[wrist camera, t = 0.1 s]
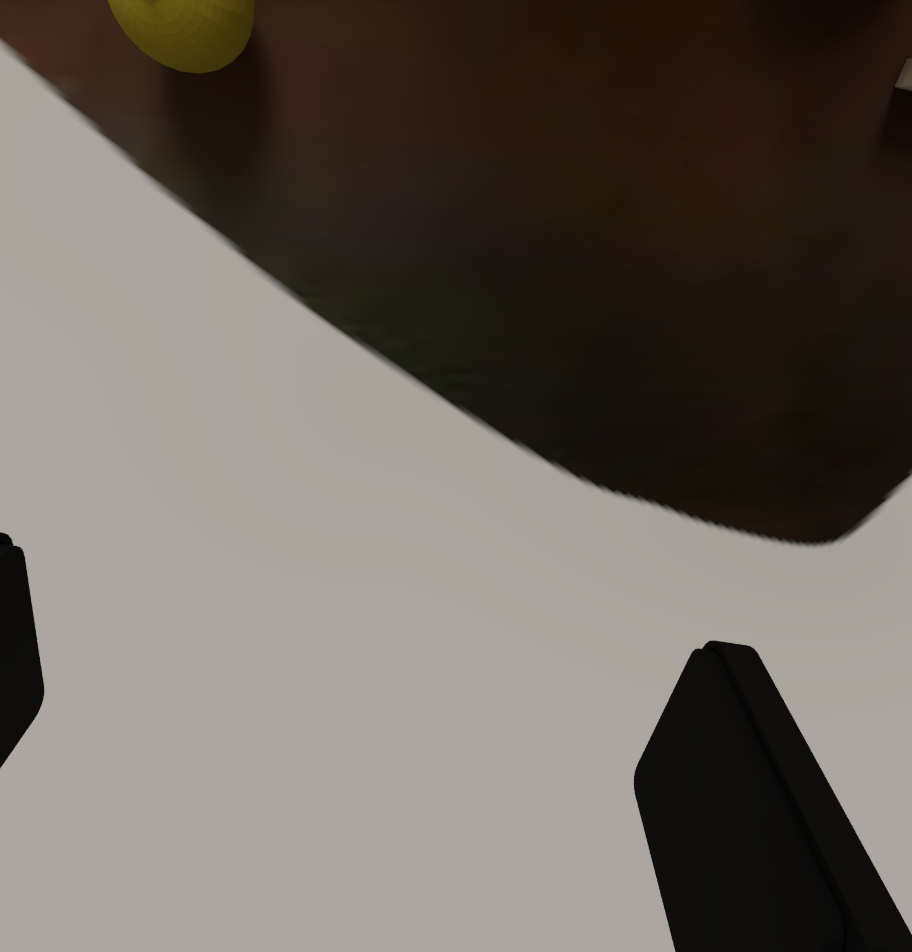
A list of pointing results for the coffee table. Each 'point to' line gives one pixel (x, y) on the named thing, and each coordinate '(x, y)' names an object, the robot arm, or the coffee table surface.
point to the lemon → (187, 30)
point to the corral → (905, 76)
